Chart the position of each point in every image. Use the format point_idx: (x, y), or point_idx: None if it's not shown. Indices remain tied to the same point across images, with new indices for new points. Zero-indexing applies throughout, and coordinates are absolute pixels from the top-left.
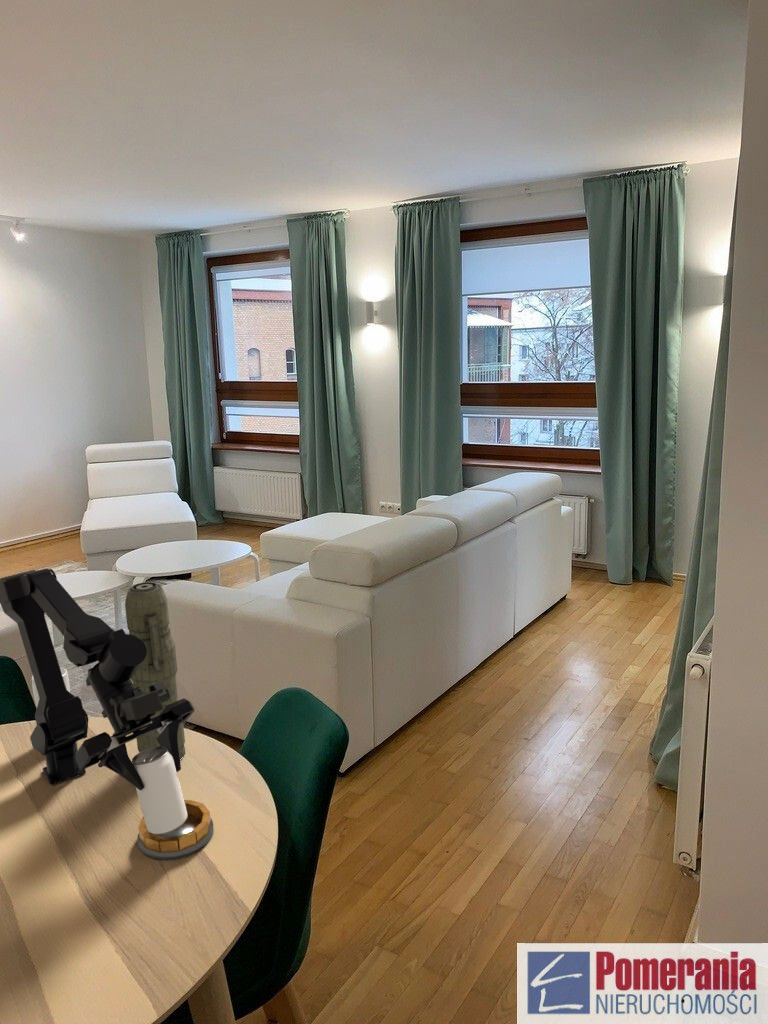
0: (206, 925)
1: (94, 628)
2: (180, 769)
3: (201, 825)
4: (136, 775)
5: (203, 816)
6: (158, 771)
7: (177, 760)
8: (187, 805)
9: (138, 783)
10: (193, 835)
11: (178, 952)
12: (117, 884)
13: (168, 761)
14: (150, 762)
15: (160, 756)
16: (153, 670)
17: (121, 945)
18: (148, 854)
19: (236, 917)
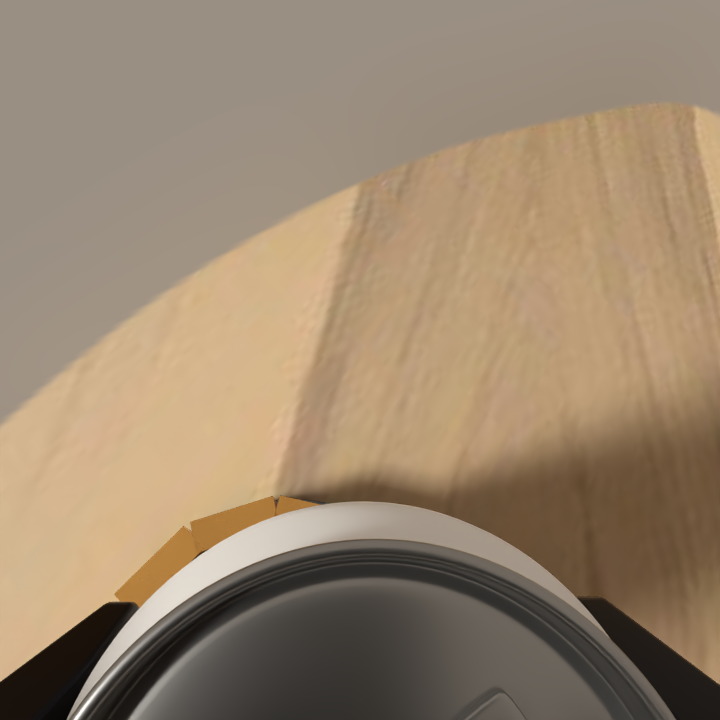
0: (481, 208)
1: None
2: (120, 602)
3: (220, 527)
4: (694, 698)
5: (160, 586)
6: (430, 510)
7: (61, 660)
8: None
9: (649, 632)
10: (290, 499)
11: (584, 189)
12: (638, 587)
13: (236, 544)
14: (530, 582)
15: (281, 667)
16: None
17: (711, 307)
18: None
19: (405, 179)
